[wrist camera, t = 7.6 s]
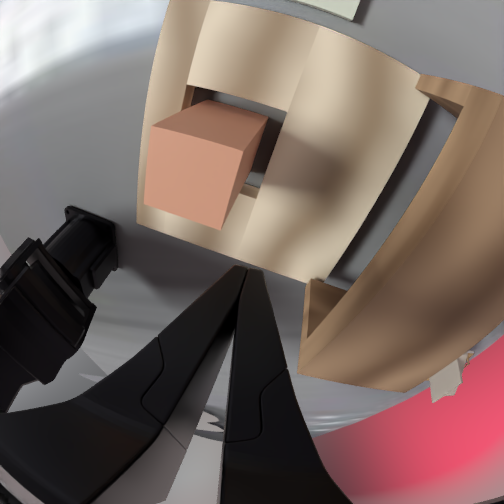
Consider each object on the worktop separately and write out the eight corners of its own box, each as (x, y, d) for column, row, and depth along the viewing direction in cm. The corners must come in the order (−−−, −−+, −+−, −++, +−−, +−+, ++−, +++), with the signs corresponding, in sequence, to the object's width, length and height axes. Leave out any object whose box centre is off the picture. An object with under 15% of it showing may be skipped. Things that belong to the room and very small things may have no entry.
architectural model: (468, 327, 24) (481, 380, 18) (438, 356, 28) (445, 405, 23) (449, 325, 24) (462, 381, 19) (420, 355, 29) (426, 406, 23)
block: (195, 153, 18) (143, 204, 12) (207, 99, 15) (150, 125, 10) (250, 171, 18) (220, 230, 12) (268, 116, 15) (243, 151, 10)
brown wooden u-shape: (305, 286, 21) (297, 373, 15) (421, 73, 10) (502, 95, 4) (395, 316, 21) (404, 392, 16) (516, 155, 10) (583, 217, 4)
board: (145, 213, 22) (136, 223, 21) (181, 1, 11) (170, -3, 9) (319, 274, 22) (319, 287, 21) (425, 82, 11) (435, 85, 10)
